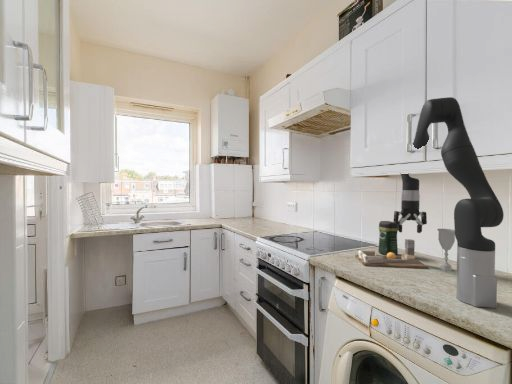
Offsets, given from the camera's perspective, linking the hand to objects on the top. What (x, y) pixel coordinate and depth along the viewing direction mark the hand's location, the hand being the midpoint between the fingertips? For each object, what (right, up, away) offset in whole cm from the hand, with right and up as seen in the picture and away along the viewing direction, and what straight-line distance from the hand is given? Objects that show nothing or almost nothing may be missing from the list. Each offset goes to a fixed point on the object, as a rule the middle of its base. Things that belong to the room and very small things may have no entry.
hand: (409, 232), depth 122 cm
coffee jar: (-1, -15, +17) cm, 23 cm away
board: (-9, -15, +1) cm, 18 cm away
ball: (-8, -12, +1) cm, 15 cm away
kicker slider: (-1, -14, 0) cm, 14 cm away
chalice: (+11, -16, -8) cm, 21 cm away
